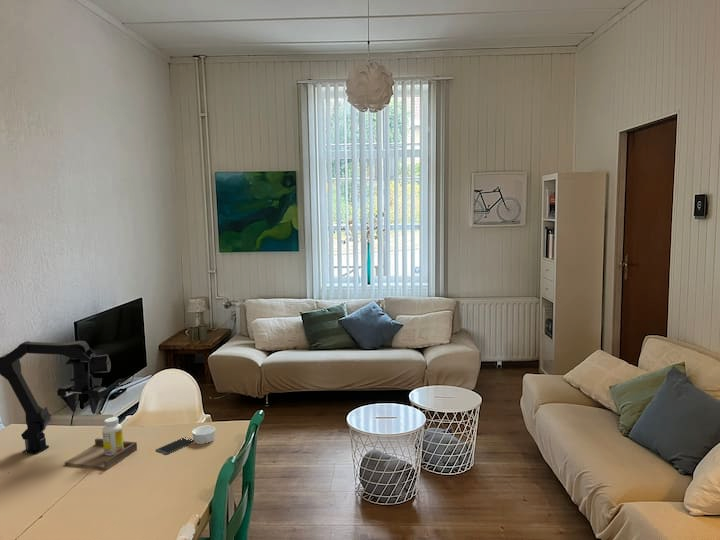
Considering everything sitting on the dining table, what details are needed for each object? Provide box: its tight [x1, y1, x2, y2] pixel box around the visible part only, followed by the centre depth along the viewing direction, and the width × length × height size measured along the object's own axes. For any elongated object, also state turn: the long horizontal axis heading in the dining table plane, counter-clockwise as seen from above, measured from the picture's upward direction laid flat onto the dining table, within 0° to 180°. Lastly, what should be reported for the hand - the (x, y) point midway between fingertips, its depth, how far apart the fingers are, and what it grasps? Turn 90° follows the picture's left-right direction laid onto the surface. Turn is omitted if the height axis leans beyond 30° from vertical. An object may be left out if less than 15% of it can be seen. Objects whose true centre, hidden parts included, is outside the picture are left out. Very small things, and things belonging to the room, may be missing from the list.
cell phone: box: [155, 436, 194, 456], centre depth 197 cm, size 7×14×1 cm, turn 146°
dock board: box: [64, 438, 138, 471], centre depth 188 cm, size 18×16×3 cm
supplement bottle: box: [101, 416, 124, 456], centre depth 189 cm, size 7×7×13 cm
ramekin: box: [191, 425, 216, 445], centre depth 201 cm, size 9×9×4 cm
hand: (84, 412), depth 198 cm, fingers open, 9 cm apart
